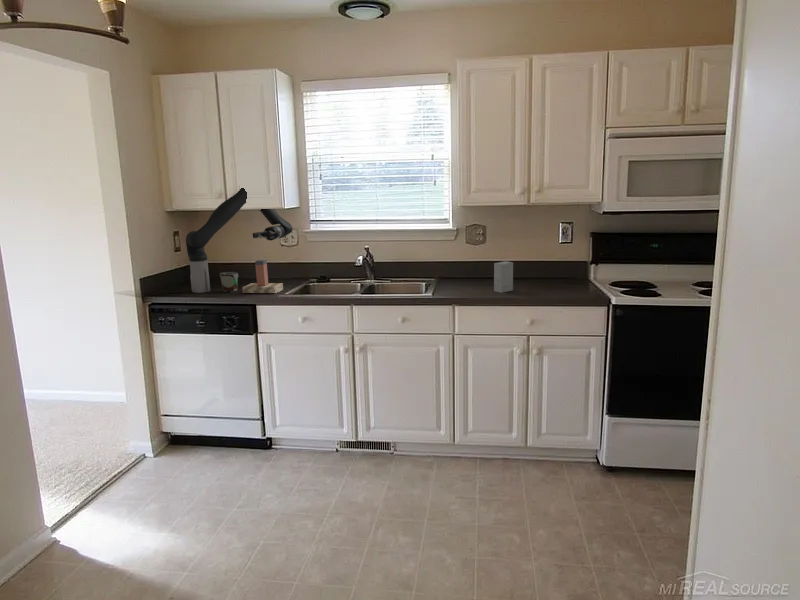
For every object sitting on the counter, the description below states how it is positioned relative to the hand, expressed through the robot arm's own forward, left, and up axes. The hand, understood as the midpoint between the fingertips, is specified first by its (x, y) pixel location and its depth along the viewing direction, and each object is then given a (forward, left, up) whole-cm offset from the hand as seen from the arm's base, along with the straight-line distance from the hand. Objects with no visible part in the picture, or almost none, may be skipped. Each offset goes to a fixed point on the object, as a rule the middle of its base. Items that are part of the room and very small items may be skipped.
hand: (261, 236), depth 302 cm
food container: (-16, -9, -30) cm, 35 cm away
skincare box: (+116, +56, -30) cm, 132 cm away
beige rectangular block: (+2, -3, -30) cm, 30 cm away
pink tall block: (+2, -3, -30) cm, 30 cm away
